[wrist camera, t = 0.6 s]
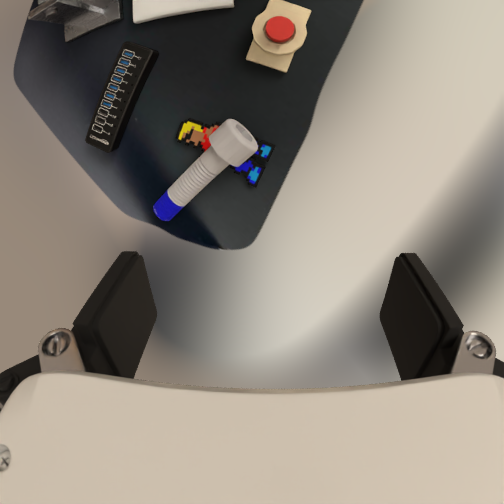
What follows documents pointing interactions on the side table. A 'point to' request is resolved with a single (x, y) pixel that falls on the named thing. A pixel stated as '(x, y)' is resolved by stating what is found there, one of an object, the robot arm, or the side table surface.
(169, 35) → the side table surface
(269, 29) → the button
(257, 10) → the side table surface
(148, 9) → the hard drive
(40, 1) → the lever
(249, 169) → the pixel art figurine
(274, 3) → the control block
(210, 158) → the bolt
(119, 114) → the multiport hub
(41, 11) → the bracket
